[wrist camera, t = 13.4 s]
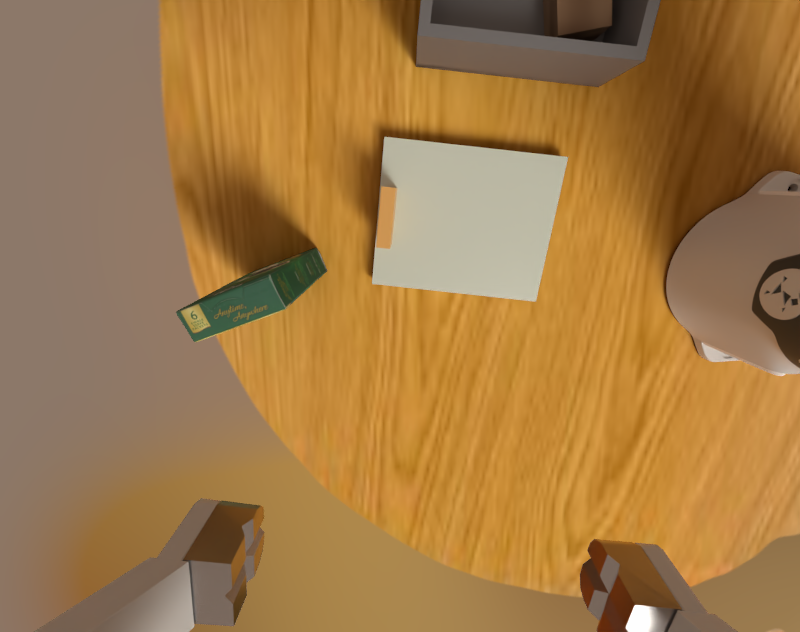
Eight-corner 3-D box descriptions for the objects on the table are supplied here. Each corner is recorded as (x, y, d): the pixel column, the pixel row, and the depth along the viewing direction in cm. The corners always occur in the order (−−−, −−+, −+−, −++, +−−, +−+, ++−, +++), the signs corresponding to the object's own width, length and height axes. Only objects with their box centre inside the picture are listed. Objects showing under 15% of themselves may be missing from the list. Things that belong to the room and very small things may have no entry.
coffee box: (259, 298, 40) (191, 346, 28) (246, 273, 39) (170, 310, 27) (328, 272, 39) (290, 310, 27) (317, 245, 38) (272, 272, 26)
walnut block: (593, -18, 30) (612, -40, 28) (593, 40, 32) (612, 25, 29) (542, -8, 31) (556, -28, 28) (544, 49, 32) (558, 35, 29)
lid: (560, 158, 36) (587, 152, 30) (530, 296, 40) (549, 313, 34) (385, 139, 36) (380, 129, 30) (373, 279, 40) (367, 294, 34)
